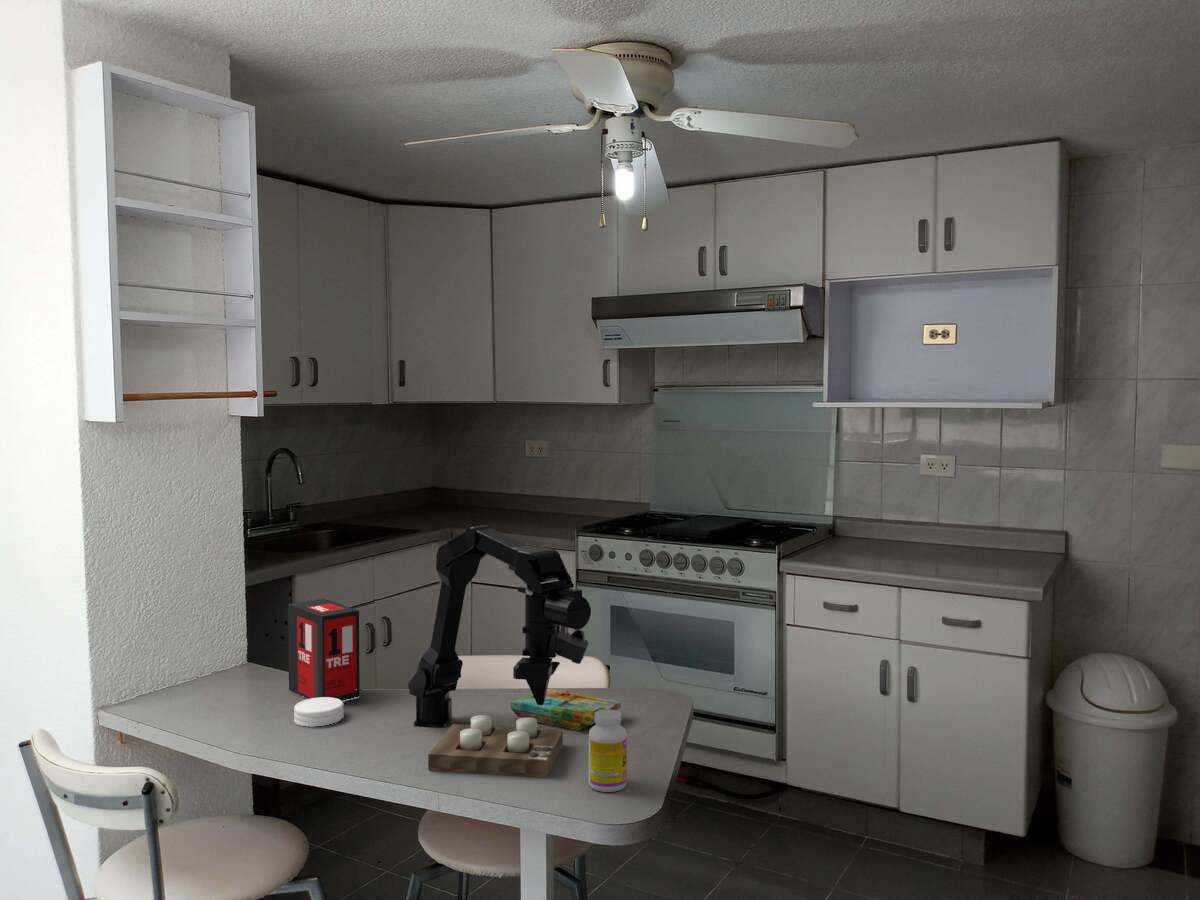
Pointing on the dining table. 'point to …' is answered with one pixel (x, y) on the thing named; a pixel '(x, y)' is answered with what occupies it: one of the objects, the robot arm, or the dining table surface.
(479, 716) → the inner button
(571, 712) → the puzzle game
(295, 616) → the cleaning product box
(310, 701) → the white short cylinder
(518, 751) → the outer button
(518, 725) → the inner button
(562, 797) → the dining table surface
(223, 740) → the dining table surface
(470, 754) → the button board
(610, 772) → the supplement bottle
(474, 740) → the outer button
